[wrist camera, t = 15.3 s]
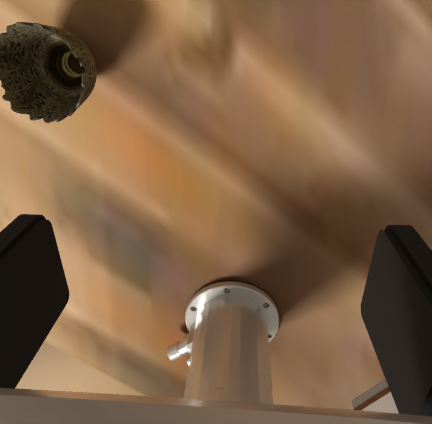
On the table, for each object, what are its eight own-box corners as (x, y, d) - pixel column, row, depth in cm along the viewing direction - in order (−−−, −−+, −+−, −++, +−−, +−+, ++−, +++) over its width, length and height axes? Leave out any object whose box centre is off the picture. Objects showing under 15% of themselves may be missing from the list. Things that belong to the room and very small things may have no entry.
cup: (26, 28, 34) (-31, 32, 27) (99, 12, 33) (60, 12, 26) (56, 108, 38) (13, 130, 31) (124, 95, 36) (95, 115, 30)
